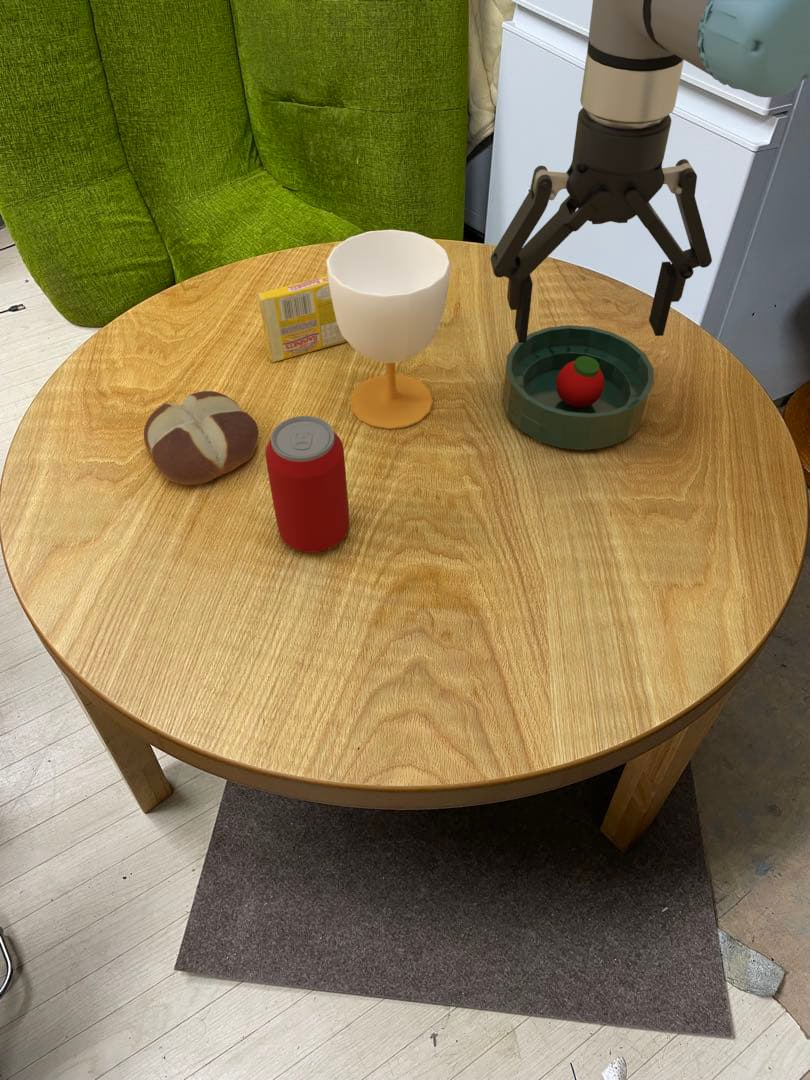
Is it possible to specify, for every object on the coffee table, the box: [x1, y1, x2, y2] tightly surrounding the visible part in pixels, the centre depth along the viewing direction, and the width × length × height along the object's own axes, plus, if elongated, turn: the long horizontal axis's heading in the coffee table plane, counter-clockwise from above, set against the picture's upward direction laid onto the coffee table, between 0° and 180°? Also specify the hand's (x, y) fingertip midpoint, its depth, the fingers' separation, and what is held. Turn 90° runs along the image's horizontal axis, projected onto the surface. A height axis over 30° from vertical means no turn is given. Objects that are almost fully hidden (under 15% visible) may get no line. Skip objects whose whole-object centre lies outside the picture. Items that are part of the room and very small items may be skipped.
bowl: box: [502, 324, 655, 451], centre depth 92 cm, size 15×15×5 cm
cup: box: [325, 229, 451, 430], centre depth 88 cm, size 12×12×17 cm
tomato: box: [556, 356, 604, 408], centre depth 91 cm, size 5×5×5 cm
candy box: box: [257, 275, 348, 363], centre depth 99 cm, size 16×2×8 cm, turn 115°
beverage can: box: [264, 415, 350, 553], centre depth 78 cm, size 7×7×12 cm
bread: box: [143, 390, 259, 486], centre depth 88 cm, size 11×11×5 cm
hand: (588, 331), depth 86 cm, fingers open, 13 cm apart
